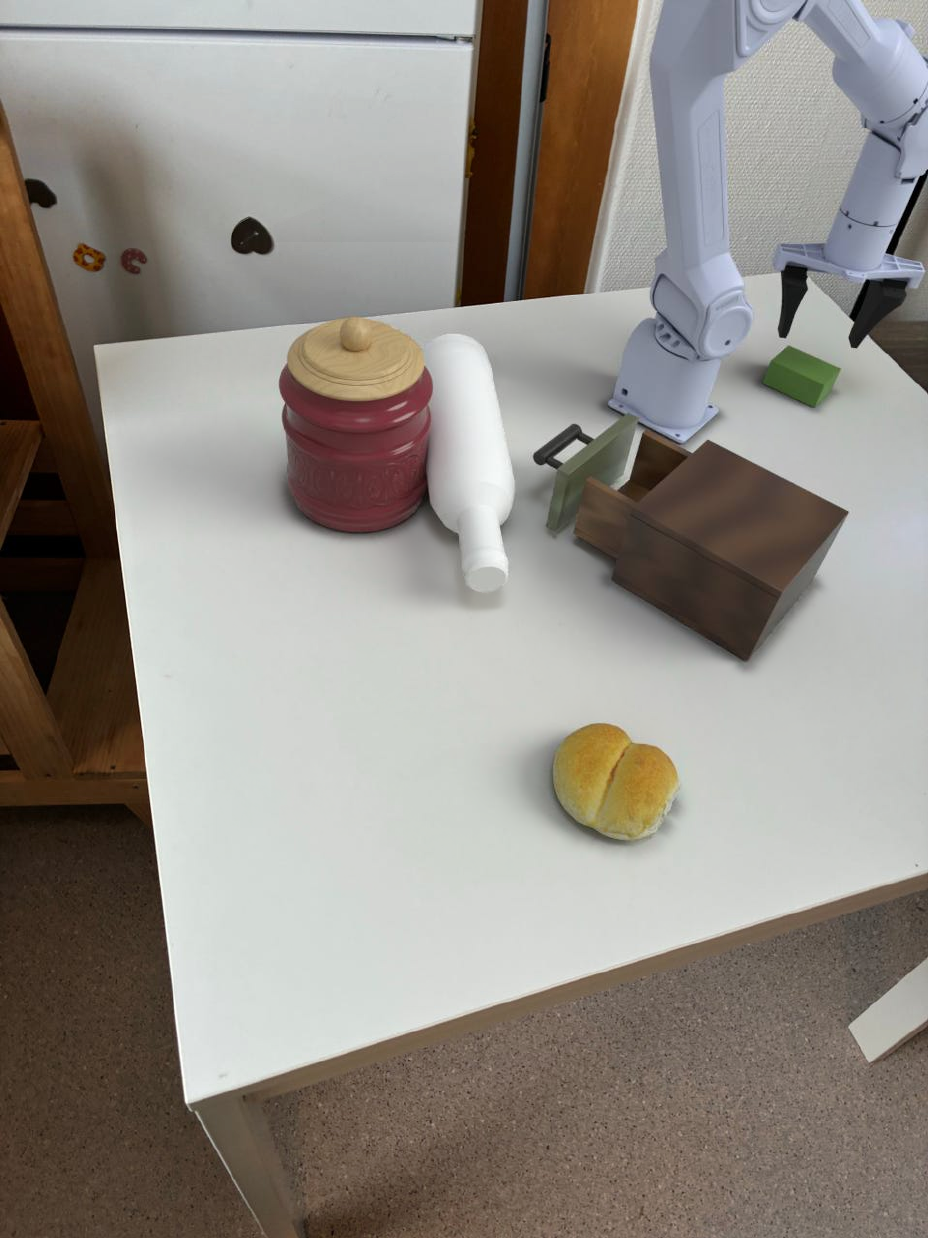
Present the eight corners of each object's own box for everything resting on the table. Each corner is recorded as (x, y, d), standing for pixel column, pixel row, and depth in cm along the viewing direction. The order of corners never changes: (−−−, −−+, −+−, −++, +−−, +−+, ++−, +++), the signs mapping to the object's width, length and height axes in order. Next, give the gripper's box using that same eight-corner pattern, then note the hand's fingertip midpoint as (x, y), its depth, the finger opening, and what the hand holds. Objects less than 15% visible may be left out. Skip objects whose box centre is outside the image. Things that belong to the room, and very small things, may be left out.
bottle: (501, 379, 94) (548, 591, 75) (433, 409, 96) (463, 623, 77) (470, 318, 89) (513, 531, 69) (399, 351, 91) (422, 567, 71)
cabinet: (611, 579, 80) (632, 507, 73) (682, 510, 87) (707, 438, 80) (747, 662, 75) (782, 592, 68) (811, 582, 81) (849, 511, 75)
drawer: (509, 504, 84) (518, 446, 79) (578, 449, 90) (591, 392, 85) (661, 596, 78) (682, 539, 72) (725, 530, 84) (748, 473, 79)
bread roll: (580, 721, 69) (590, 690, 66) (686, 780, 67) (701, 750, 64) (526, 798, 65) (534, 768, 62) (638, 865, 62) (652, 838, 59)
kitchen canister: (318, 552, 79) (307, 380, 66) (269, 463, 86) (250, 293, 73) (450, 514, 84) (465, 346, 70) (393, 433, 91) (396, 267, 78)
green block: (761, 383, 102) (770, 360, 100) (779, 367, 104) (788, 344, 102) (814, 408, 100) (824, 385, 97) (831, 391, 102) (841, 368, 100)
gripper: (799, 221, 85) (753, 348, 95) (954, 242, 84) (891, 368, 94) (791, 189, 89) (748, 314, 100) (937, 209, 89) (879, 332, 99)
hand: (817, 338), depth 97 cm, fingers open, 7 cm apart
